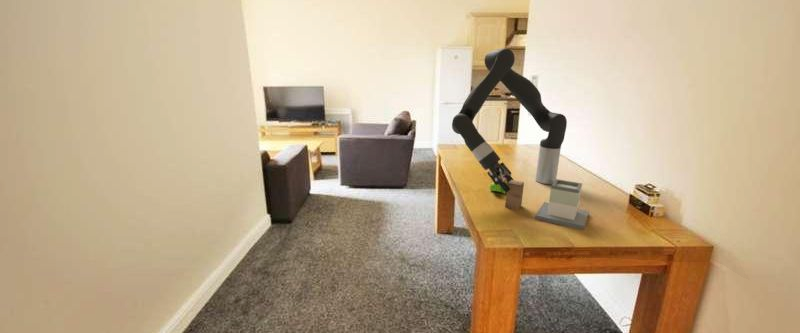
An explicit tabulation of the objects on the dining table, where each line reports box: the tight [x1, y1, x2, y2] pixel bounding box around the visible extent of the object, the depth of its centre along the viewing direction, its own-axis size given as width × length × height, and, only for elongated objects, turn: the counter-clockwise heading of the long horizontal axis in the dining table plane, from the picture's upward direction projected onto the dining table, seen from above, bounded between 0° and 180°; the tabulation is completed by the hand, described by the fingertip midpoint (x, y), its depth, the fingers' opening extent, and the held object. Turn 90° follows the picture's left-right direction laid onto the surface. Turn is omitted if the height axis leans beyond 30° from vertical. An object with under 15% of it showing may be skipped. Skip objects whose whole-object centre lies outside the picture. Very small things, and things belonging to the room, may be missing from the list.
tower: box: [534, 178, 590, 231], centre depth 131 cm, size 16×16×13 cm
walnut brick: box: [504, 179, 525, 211], centre depth 141 cm, size 5×5×10 cm
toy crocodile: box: [489, 177, 508, 195], centre depth 161 cm, size 20×7×6 cm, turn 145°
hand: (511, 188), depth 141 cm, fingers open, 8 cm apart
